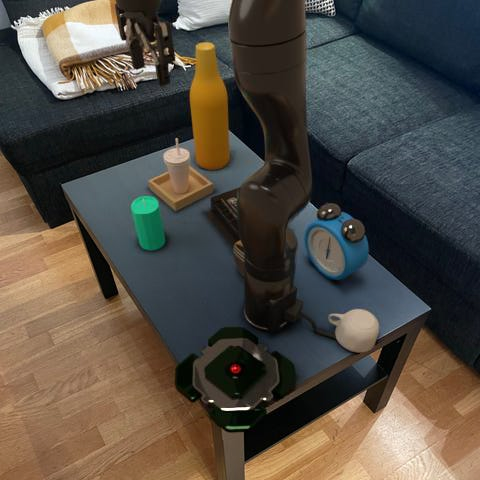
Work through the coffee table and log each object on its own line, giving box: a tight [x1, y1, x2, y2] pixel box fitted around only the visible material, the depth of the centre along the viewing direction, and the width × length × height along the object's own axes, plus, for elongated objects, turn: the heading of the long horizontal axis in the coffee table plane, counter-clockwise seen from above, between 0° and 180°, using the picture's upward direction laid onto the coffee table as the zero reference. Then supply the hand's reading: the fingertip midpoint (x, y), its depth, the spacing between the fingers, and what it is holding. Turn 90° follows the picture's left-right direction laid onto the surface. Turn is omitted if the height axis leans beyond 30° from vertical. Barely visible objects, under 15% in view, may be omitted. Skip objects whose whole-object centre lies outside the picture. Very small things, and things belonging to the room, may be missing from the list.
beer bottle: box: [189, 41, 231, 171], centre depth 117 cm, size 9×9×29 cm
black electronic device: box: [205, 186, 240, 250], centre depth 105 cm, size 20×14×17 cm
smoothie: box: [162, 137, 191, 194], centre depth 114 cm, size 6×6×14 cm
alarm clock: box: [304, 202, 370, 283], centre depth 97 cm, size 13×6×15 cm, turn 37°
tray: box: [147, 165, 214, 212], centre depth 119 cm, size 12×12×3 cm
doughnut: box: [232, 240, 244, 278], centre depth 98 cm, size 9×4×10 cm, turn 32°
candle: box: [130, 195, 166, 251], centre depth 104 cm, size 6×6×12 cm
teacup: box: [327, 308, 380, 354], centre depth 89 cm, size 10×8×5 cm
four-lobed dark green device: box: [174, 326, 297, 434], centre depth 84 cm, size 18×18×5 cm
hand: (151, 76), depth 87 cm, fingers open, 8 cm apart
